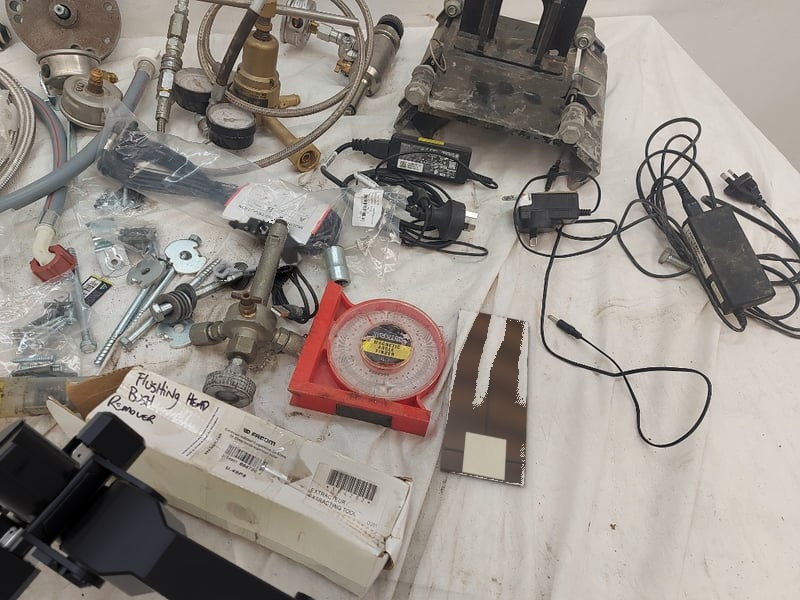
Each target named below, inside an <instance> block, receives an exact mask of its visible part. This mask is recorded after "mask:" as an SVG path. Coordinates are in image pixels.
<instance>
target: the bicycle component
mask: <svg viewBox="0 0 800 600" xmlns="http://www.w3.org/2000/svg"><path fill="white" fill-rule="evenodd" d="M278 218H283V217H281V216H280V217H278ZM262 220H263V219H260V218H256V217H252V216H250V217H249V218H248V220H247V221H246V222H240V220H238V219H235V220H233V219H231V220H229V222H228V226H230V227H231V228H232V229H233V230H239V231H240V230H241V231H243V232H247V233H249V234H251V235H253V236H255V237H257V239H259V241H260V242H261V241H262V242H265V241H266V239H267V234H268V233H269V230H270V227H271V226H272V225H273V224H272V223H269V221H268V222H265V221H262ZM274 220H275V219H274ZM271 221H273V220H271ZM260 227H261V229H260ZM261 230H262V231H261ZM287 232H288V234H287V239H286V242H285V244H284V248H283V252H282V251H281V255H280V256H281V259H280V264H279V267H283V266H286V265H293V266H298V263H299V262H300V261H301V260H302V255H301V254H300V253H299V251H298V248H299V247H300V243H299V242H298V241H297V240H296V239H295V238H294V237H292V235H291V233H290V232H289V231H287ZM258 264H259V263H257V264H256V263H255V264H249V265H247V266H248V268H247V269H246V270H245V272H253V271H257V270H256V267H257V265H258ZM235 265H236V264H234V263H231V262H229V261H227V260H224V259H221V260H220V261H219V262H218V264H217V265H214V266H212V276H213V282H216V283H218V282H217V281H218V280H223V281H224V280H227V277H228V276H232V275H231V274H234V273H236V272H239V271H243V270H238V269H236V268H234V266H235ZM283 268H284V267H283ZM251 276H255V275H254V273H252V274H250V275H249V276H248V277H251ZM239 279H240V278H238V279H237V280H239Z"/></svg>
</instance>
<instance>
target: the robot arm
mask: <svg viewBox="0 0 800 600" xmlns="http://www.w3.org/2000/svg"><path fill="white" fill-rule="evenodd" d="M146 449H147V443H146V440H145V438H144V436H142V435H141V434H140V433H138V431H136V430H135V429H134V428H133V427H132V426H130V425H129V424H128V423H127V422H125V421H124V420H123V419H122V418H121V417H119V416H118V415H117V414H115V413H114V412H112V411H107V410H105V411H97V412H96V413H95V414H94V415H93V416H92V417H91V418H90V419H89V421H88V422H86V423H85V425H84V426H83V427H82V428H81V429H80V430H79V431H78V433H77V434H76V435H74V436H73V437H72V438H71V439H70V440H69V441H68V442H67V443H66V444H65V446H64V447H62V448H60V447H59V446H57V445H56V444H55V443H54V442H52V441H51V440H50V439H49V438H47V437H46V436H45V435H43V434H42V433H41V432H39V431H38V430H37V429H35V428H34V427H33V426H31V425H30V424H29V423H27V422H26V421H25V420H24V419H22V418H20V419H17V420H15V421H13V422H11V423H10V424H8V425H7V426H6V427H4V428H3V429H2V430H1V431H0V600H18V599H19V598H20V597H21V596H22V595H23V594H24V592H25V591H26V590H27V589H28V588H29V586H31V584H32V583H33V582H34V580H36V578H38V576H39V575H40V574H41V572H42V570H41V569H40V568H39V567H37V565H39V563H41V564H43V565H45V567H47V568H49V569H50V570H52V571H53V572H55V573H56V574H57V575H59V576H61V577H62V578H63V579H65V580H66V581H68V582H70V583H71V584H72V585H74V586H75V587H77V588H78V589H80V590H83V589H87V588H92V587H94V588H95V589H98V590H101V589H102V588H103V586H105V584H106V583H108V584H110V585H111V586H113V587H114V588H116V589H118V590H119V591H120V592H122V593H124V594H125V595H127V596H128V597H137V596H142V595H147V594H154V593H156V594H157V595H158V596H161V597H162V598H164V599H165V600H316V599H315V598H313V597H312V596H311V595H309V594H306V593H304V592H301V591H296V592H295V594H294V596H292V595H290V594H288V593H286V592H285V591H283V590H281V589H279V588H278V587H276V586H274V585H273V584H271V583H269V582H267V581H266V580H263V579H262V578H260V577H259V576H257V575H255V574H253V573H252V572H250V571H248V570H246V569H244V568H242V567H241V566H239V565H237V564H236V563H234V562H232V561H230V560H228V559H227V558H225V557H224V556H222V555H219V554H218V553H217V552H215V551H213V550H211V549H209V548H208V547H205V546H204V545H202V544H201V543H198V542H197V541H195V540H193V539H192V538H190V537H188V533H187V528H186V526H185V523H183V522H182V521H181V520H180V519H179V518H178V517H177V516H175V514H174V513H173V512H172V511H170V510H169V509H168V508H167V507H166V506H167V504H168V503H169V500H167V498H166V497H165V496H164V495H162V494H161V493H160V492H159V491H157V490H156V489H155V488H153V487H152V486H150V485H149V484H147V483H146V482H144V481H142V480H141V479H139V478H138V477H136V476H134V475H133V474H130V473H129V472H128V470H129V469H130V468H131V467H132V466H133V464H135V462H136V461H137V460H138V459H139V457H140V456H141V455H142V454H143V453H144V452H145V450H146ZM112 477H113V478H115V479H114V480H113V481H112V482H111V483H110V484H109V485H106V484H107V483H108V482H109V481H110V480H111V478H112ZM54 542H56V544H58V550H59V551H58V550H56V548H54V547H52V545H53V544H54ZM60 551H61V552H62V553H61V552H60ZM64 554H65V555H67V556H65V555H64Z"/></svg>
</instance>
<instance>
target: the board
mask: <svg viewBox="0 0 800 600" xmlns="http://www.w3.org/2000/svg"><path fill="white" fill-rule="evenodd" d="M478 312H479V314H478V316H477V317H476V319H475V321H474V323H473V326H472V328H471V330H470V332H469V334H468V337H467V340H466V342H465V344H464V347H463V349H462V351H461V353H460V356H459V360H458V363H457V370H456V374H455V375H456V377H455V380H454V385H453V389H452V394H451V400H450V407H449V413H448V420H447V424H446V429H445V428H444V431H445V435H444V434H443V439H444V441H443V440H442V449H441V456H440V466H439V471H440V472H444V473H448V472H455V473H463V474H467V475H472V476H478V477H483V478H487V479H494V480H498V481H503V482H509V483H519V484H522V483H521V482H522V481H521V480H522V479H523V478H522V477H521V476H522V475H523V474H522V471H523V470H524V469H525V470H526V465H527V461H526V459H527V458H526V457H527V425H528V424H527V423H528V422H527V421H528V402H527V403H526V404H527V405H526V404H525V403H524V404H525V406H526V407H525V406H524V404H523V403H522V404H523V405H522V404H521V403H520V404H521V405H520V404H519V402H520V400H521V399H520V400H519V397H520V396H519V397H518V395H519V393H518V394H517V392H518V390H519V389H518V388H517V387H518V383H519V382H518V381H519V379H518V375H519V369H518V361H519V356H520V354H521V350H520V346H521V345H522V341H521V339H522V338H523V336H522V332H523V328H524V325H523V322H524V321H525V322H526V321H527V320H522V319H516V318H511V317H507V320H506V323H507V324H506V328H505V329H506V331H505V336H504V341H502V343H501V346H500V348H499V350H498V351H497V355H495V356H496V358H495V359H494V362H493V363H492V364H493V367H491V370H490V377H489V378H490V380H489V385H488V386H489V387H488V390H487V393H488V394H487V393H486V392H485V393H486V395H485V397H486V398H485V397H484V398H483V397H482V398H483V401H484V402H483V401H482V402H483V403H482V402H481V404H480V405H481V406H480V405H479V404H478V405H479V406H478V405H476V404H477V403H476V404H475V405H476V406H475V405H474V404H472V402H473V401H474V399H475V398H476V396H475V393H476V390H475V389H476V386H477V385H476V384H477V383H476V380H477V378H478V372H479V371H478V367H479V363H480V359H481V355H482V353H483V347H484V344H485V341H486V339H487V333H488V327H489V323H490V319H491V315H492V314H491V313H486V312H481V311H478ZM510 320H511V321H510ZM519 320H520V322H519ZM517 321H518V322H517ZM525 322H524V324H525ZM521 323H522V324H521ZM522 326H523V327H522ZM524 330H525V329H524ZM523 334H524V332H523ZM522 340H523V339H522ZM520 344H521V345H520ZM521 347H522V346H521ZM517 380H518V381H517ZM517 389H518V390H517ZM516 390H517V391H516ZM516 395H517V396H516ZM474 396H475V397H474ZM517 397H518V399H517ZM480 398H481V396H480ZM518 400H519V402H518ZM522 400H523V398H522ZM516 401H517V402H518V403H517V402H516ZM515 402H516V403H515ZM523 402H524V401H523ZM473 405H474V406H473ZM477 406H478V407H477ZM523 406H524V407H523ZM474 407H475V408H474ZM473 408H474V409H473ZM523 444H524V445H523ZM525 444H526V445H525ZM522 445H523V446H522ZM523 447H524V448H525V447H526V448H525V449H526V450H525V449H524V448H523ZM522 448H523V449H524V450H523V449H522ZM521 449H522V450H523V451H522V450H521ZM520 450H521V451H520ZM521 452H522V453H523V452H524V453H523V454H524V455H525V456H526V457H525V456H524V455H523V454H522V453H521ZM525 452H526V453H525ZM521 454H522V455H523V456H524V457H521V456H522V455H521ZM520 455H521V456H520ZM522 460H523V461H524V460H525V461H524V462H523V461H522ZM522 464H524V466H523V465H522ZM522 466H523V467H522ZM521 467H522V468H521ZM524 467H525V468H524ZM523 468H524V469H523ZM522 469H523V470H522ZM521 474H522V475H521ZM521 478H522V479H521Z"/></svg>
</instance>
